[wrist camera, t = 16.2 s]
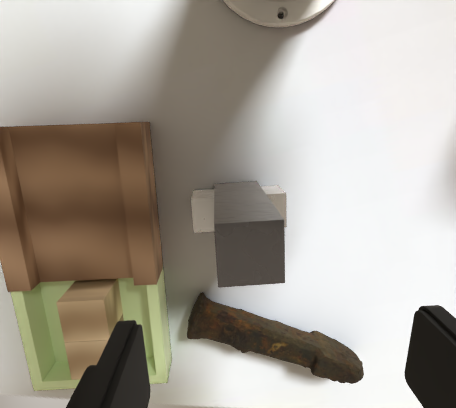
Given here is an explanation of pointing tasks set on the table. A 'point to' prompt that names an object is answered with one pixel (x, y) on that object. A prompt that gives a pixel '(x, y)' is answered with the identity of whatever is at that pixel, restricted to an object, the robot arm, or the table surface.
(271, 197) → the cube with crossbar
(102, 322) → the light brown cube
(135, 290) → the tray
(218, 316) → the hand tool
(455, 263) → the table surface
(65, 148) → the slot board
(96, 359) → the light brown wooden block
